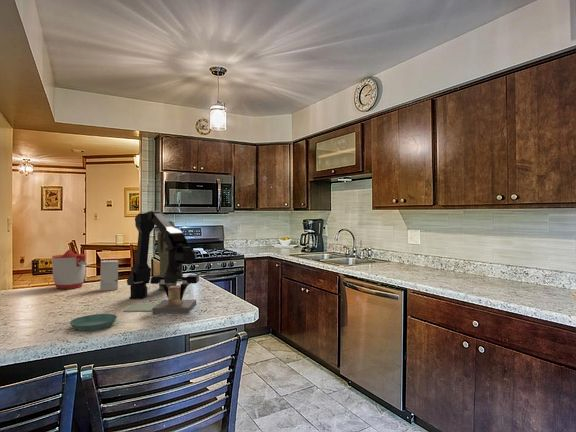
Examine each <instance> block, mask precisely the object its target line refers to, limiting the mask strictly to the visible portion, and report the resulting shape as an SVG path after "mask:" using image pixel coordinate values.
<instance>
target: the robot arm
mask: <svg viewBox="0 0 576 432" xmlns="http://www.w3.org/2000/svg"><path fill="white" fill-rule="evenodd" d="M134 221H135V222H134V225H135V228H136V230H137V231H138V237H137V248H136V260H135V262H134V264H133V265H132V267H131V268H130V269H131V270H130V273H129V275H128V277H127V279H126V284H127V286H130V289H129V290H130V296H129V298H128V299H132V300H133V299H136V300H137V299H145V298H146V297H148V286H147V284H151V285H153V284H154V285H160V286H162V287H163V288H164V290H165V291H164V292H165V294H166V296H167V298H168V288H169V287H170V283H176V282H177V283H178V282H181V284H180V286H181V293H180V300H183V297H184V296H185V292H186V289H187V287H188V286H190V285H191V284H195V285H196V284H198V283H199V282H200V276H199V275H198V274H189V275H187V276H184V273H183V265H192V264H193V263H194V262H195V260H196V253H195V251H193V250H192V247H191V246H190V243H189V242H188V240H187V237H186V236H185V233H184V232H183V231H182V230H180V229H178V228H177V227H175V228H174V227H172V226H171V224H170V223H169V222H168V221H169V220H167V219H166V218H165V216H163V213H162V211H160V210H150V211H147V212H143V213H141V212H140V213H138V214H137V215H136V216H135V217H134ZM155 226H156V228H157V229H158V231H161V232H162V234H163V235H164V237H163V240H164V241H165V243H166V245H167V246H168V247H167V248H166V249H165V250H166V251H168V266H167V271H166V272H165V274H164V275H160V274H155V275H153V276H152V275H151V273H152V268H151V267H150V266H149V264H148V260H149V258H148V257H149V249H150V247H149V246H150V237H151V232H153V230H154V229H155ZM159 282H160V284H159Z"/></svg>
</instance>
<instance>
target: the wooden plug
mask: <svg viewBox="0 0 576 432" xmlns="http://www.w3.org/2000/svg"><path fill="white" fill-rule="evenodd" d="M180 293H181V285H176V286H171V287H169V288H168V297H167V300H168V305H181V304H182V300H183V299H182V300H180Z"/></svg>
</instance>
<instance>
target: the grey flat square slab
mask: <svg viewBox="0 0 576 432" xmlns="http://www.w3.org/2000/svg"><path fill="white" fill-rule="evenodd" d="M156 304H157V305H156V306H155V307H154V308H153V310H152V314H188V313H190V312H191V311H192V309H194V307H195V306H196V305H197V299H182V304H181V305H168V299H162V300H161V301H160V302H158V303H156Z"/></svg>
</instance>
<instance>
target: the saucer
mask: <svg viewBox="0 0 576 432" xmlns="http://www.w3.org/2000/svg"><path fill="white" fill-rule="evenodd" d="M117 319H118V316H117V315H116V314H112V313H96V314H90V315H89V314H88V315H83V316H80V317H77V318H74V319H72V320H70V322H69V324H70V325H71V327H72V328H74V329H75V330H76V331H80V332H92V331H98V330H99V331H100V330H103V329H106V328H108V327H111V326H112V325H113V323H114V322H115V321H116V320H117Z"/></svg>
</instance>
